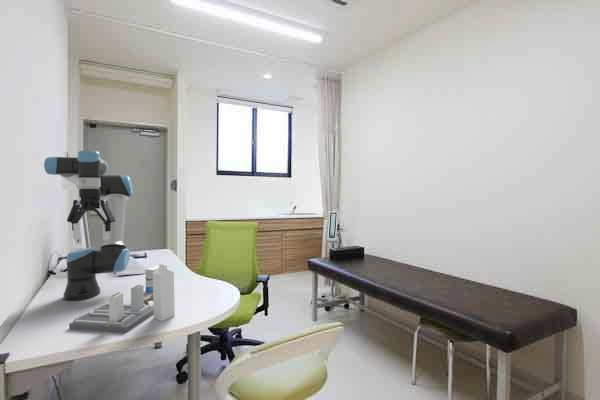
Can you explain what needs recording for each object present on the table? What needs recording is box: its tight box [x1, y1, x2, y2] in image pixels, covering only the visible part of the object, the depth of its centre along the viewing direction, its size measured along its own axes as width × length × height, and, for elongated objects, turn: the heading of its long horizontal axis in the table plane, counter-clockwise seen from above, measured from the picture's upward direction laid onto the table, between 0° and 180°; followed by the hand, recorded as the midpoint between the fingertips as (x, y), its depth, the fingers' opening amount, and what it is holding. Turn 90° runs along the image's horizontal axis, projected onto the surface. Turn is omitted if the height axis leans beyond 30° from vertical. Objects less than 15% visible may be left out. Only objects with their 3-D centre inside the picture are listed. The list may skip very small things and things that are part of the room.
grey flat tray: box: [68, 302, 154, 333], centre depth 127 cm, size 24×20×3 cm
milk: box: [152, 263, 176, 322], centre depth 130 cm, size 6×6×22 cm
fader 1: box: [108, 291, 124, 322], centre depth 122 cm, size 3×4×10 cm
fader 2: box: [130, 284, 145, 312], centre depth 131 cm, size 3×4×10 cm
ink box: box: [144, 265, 159, 293], centre depth 165 cm, size 8×5×12 cm, turn 168°
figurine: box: [129, 293, 153, 306], centre depth 142 cm, size 4×4×15 cm
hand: (91, 239), depth 130 cm, fingers open, 13 cm apart
